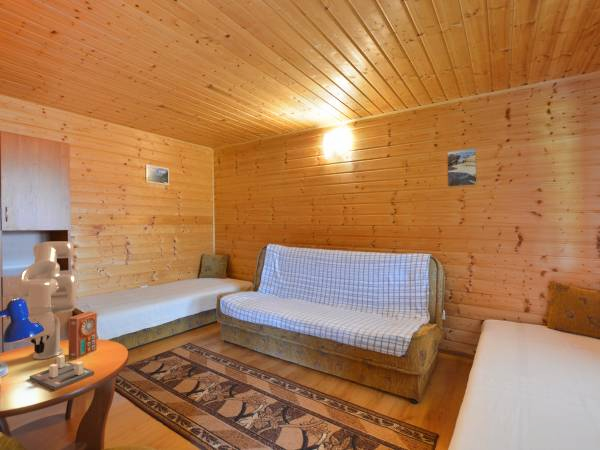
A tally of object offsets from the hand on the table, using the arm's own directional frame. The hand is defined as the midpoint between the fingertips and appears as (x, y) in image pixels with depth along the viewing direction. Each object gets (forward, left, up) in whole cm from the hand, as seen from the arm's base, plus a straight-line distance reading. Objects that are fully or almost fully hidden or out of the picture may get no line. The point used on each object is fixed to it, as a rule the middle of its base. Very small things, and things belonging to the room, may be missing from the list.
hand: (39, 352), depth 135 cm
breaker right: (+7, +12, -13) cm, 19 cm away
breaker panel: (0, +9, -15) cm, 17 cm away
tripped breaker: (0, +6, -13) cm, 14 cm away
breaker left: (-8, +12, -13) cm, 19 cm away
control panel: (-18, +28, -15) cm, 37 cm away
